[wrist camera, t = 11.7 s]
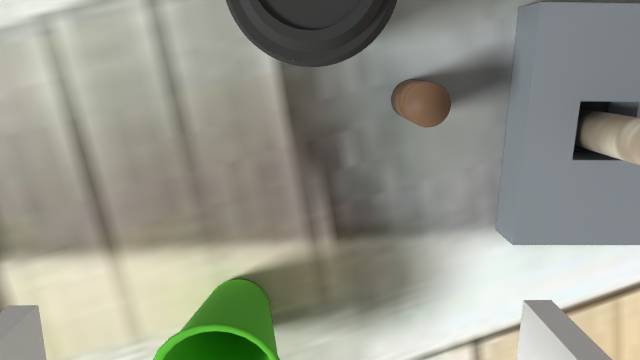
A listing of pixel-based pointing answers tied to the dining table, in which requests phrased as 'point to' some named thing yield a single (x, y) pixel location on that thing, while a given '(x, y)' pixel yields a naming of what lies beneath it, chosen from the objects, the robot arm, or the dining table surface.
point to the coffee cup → (311, 27)
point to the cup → (226, 327)
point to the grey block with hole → (569, 126)
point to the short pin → (421, 102)
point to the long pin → (609, 134)
